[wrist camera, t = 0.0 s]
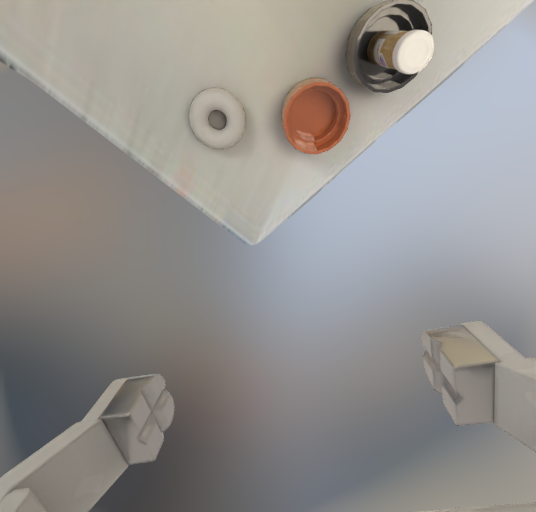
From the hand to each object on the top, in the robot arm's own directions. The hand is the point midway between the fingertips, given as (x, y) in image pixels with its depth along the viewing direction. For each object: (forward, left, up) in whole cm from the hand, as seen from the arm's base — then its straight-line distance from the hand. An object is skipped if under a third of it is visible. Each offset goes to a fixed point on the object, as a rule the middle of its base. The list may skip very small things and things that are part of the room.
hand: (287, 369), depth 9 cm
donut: (+7, -6, -52) cm, 53 cm away
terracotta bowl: (-1, +9, -52) cm, 53 cm away
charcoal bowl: (-14, +14, -52) cm, 56 cm away
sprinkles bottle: (-14, +14, -52) cm, 55 cm away
